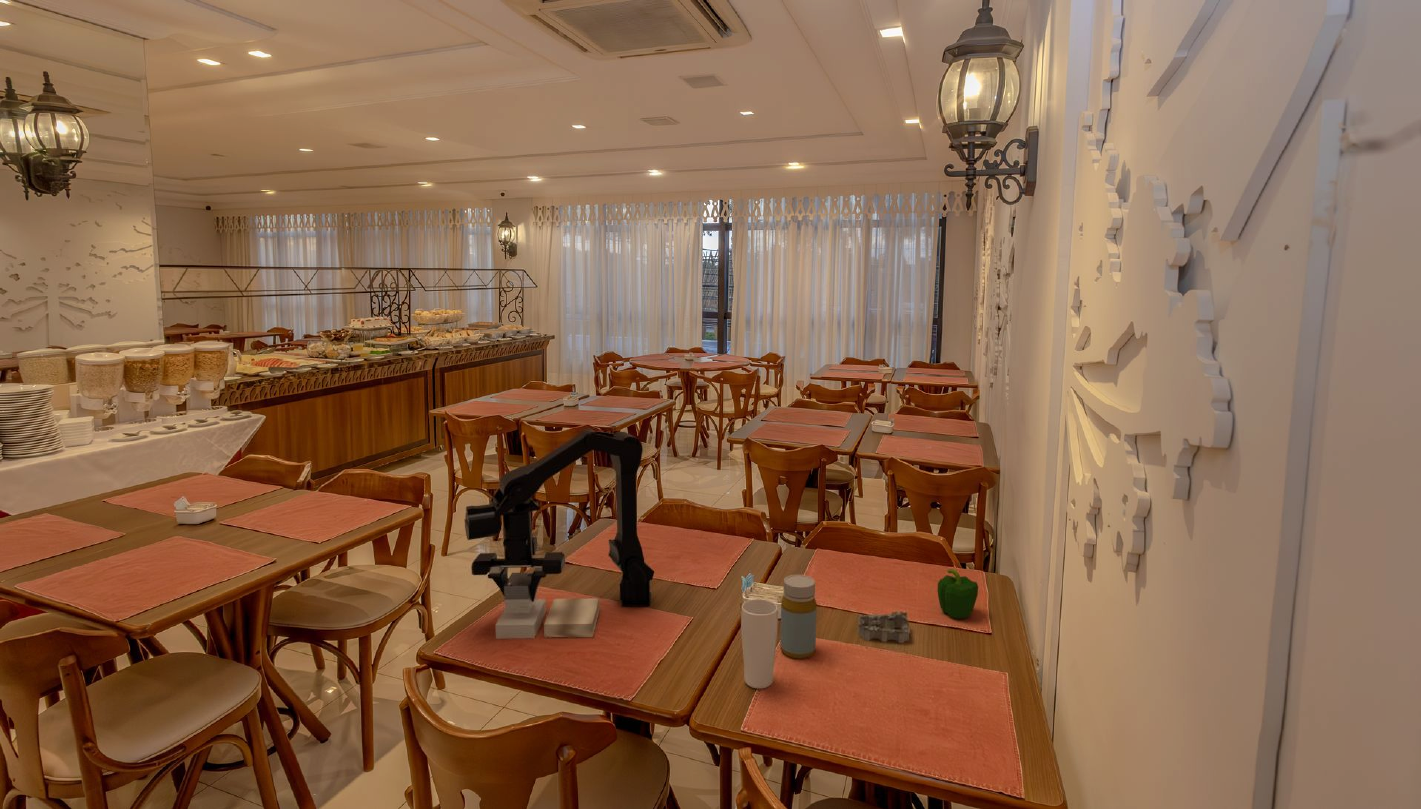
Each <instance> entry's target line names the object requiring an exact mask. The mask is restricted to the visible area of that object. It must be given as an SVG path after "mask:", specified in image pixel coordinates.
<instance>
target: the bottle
mask: <svg viewBox="0 0 1421 809" xmlns="http://www.w3.org/2000/svg"><path fill="white" fill-rule="evenodd" d="M815 593H816V580H815V579H814V578H813V577H810V576H808V575H806V574H805V575H804V574H791V575H787V576H786V577H784V579H783V597H782V599H781V602H780V603H781V604H780V650H781V651H782V652H783V653H784V655H786V656H787V657H789V658H792V659H797V660H798V659H799V660H802V659H808V658H809V657H811V656H813V655H814V653H815V651H816V647H817V646H816V644H817V642H816V641H817V615H818V614H817V612H818V611H817V608H818V606H817V600H816V598H815V595H816V594H815Z"/></svg>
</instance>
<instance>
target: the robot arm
mask: <svg viewBox="0 0 1421 809" xmlns="http://www.w3.org/2000/svg"><path fill="white" fill-rule="evenodd" d="M591 451H596V452H601V453H605V454H608V455H610V456H609V457H610V460H611V462H612V466H613V468H614V472H615V485H616V486H615V488H616V491H615V493H616V494H615V495H616V528H617V529H616V535H615V537H614V539H608V546H609V552H608V557H609V558H610V559H611V561H612V563H613V564H614V565H615V566H616V567H617V568H618V569H619V570H620V572H622V576H621V579H620V581H619V600H620V601H621V606H622V607H650V605H651V601H652V600H651V599H652V592H651V581H653V578H654V576H655V570H654V569H652V568H651V566H649V564H647V563H646V562H645V556H644V552H643V548H642V545H641V541H640V538H639V536H638V518H637V517H638V516H637V511H638V510H637V508H638V507H637V505H638V504H637V473H638V470H639V468H640V465H641V463H642V457H643V451H644V450H643V443H642V442H641V441H640V440H639V439H638V438H637V437H635V436H634V435H632V434H630V433H628V432H626V431H617V432H616V433H612V432H611V433H610V432H607V431H599V430H598V431H597V430H593V429H590V428H585V429H583V430H581V431H580V433H578V434H577V435H575V436H574V437H572V438H571V439H569V440H568V441H567V442H565V443H563V444H562V445H560V446H559V447H557V448H555V449H554V450H552V451H551V452H549V453H547V454H546V455H544V456H543V457H541V458H539V459H538V460H537V461H534V462H532V463H530V464H526V465H523V466H520V467H517V468H514V469H511V470H510V471H507V472H505V474H503V475H502V476H501V477H500V480H499V483H498V489H497V490H496V492H495V493H494V494H493V496H492V497H491V499H490V501H489V502H490V504H489V503H488V504H482V505H467V506H465V518H464V529H465V535H466V539H467V541H472V540H478V539H484V538H490V537H492V538H493V537H496V536H497V535H498V534H500V531H501V530H502V531H503V541H502V546H503V549H504V558H498V556H497V553H496V552H483V553H482V552H481V553H479V554H478V555H477V556H476V557H475V559H474V560H473V561H472V563H471V566H470V567H471V575H473V576H487V579H491V580H492V581H493V582H494V583H495V585H496V586H497V588H499V590H500V591H501V594H502V595H503V597H504V598H505V596H504V585H505V584H506V582H507V580H508V579H509V574H508V572H509V570H508V569H509V568H510V569H511V568H517V569H518V568H520V569H521V568H533V571H532V572H533V574H532V576H531V598H532V602H534V600H535V596H536V597H537V593H538V589H539V586H540V582H541V579H543V578H544V579H545V578H546V577H547V575H559V574H562V573H563V570H564V568H565V566H566V555H565V553H563V551H554V552H551V551H549V552H547V551H546V552H545V555H544V557H534V556H535V555H536V553H537V551H538V537H537V536H533V535H534V534H533V531H532V516H531V515H532V514H531V512H536V511H540V510H541V507H540V506H539V504H538V503H537V502H536V501H534V500H533V499H532V497H533V496H535V494H536V493H537V492H538V491H539V490H540V489H541V488H542V486H543V485H544V484H545V482H547V481H549V479H550V478H552V477H554V476H555V475H557V474H558V473H560V472H561V471H563V470H565V468H567V467H569V466H571V465H572V464H574V463H575V462H576V461H578V460H580V459H581V458H582V457H584V456H585V455H587V454H589V453H590V452H591ZM501 516H502V518H501Z"/></svg>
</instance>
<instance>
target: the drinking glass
mask: <svg viewBox="0 0 1421 809" xmlns="http://www.w3.org/2000/svg"><path fill="white" fill-rule="evenodd" d="M740 610H741V611H740V612H741V613H740V614H741V615H740V629H741V630H740V632H741V642H742V643H741V644H742V657H743V670H744V671H743V672H744V674H743V675H744V682H745V684H746V685H747V686H749V687H750V688H753V689H766V688H768V687H770V686H771V685H772V684H773V682H774V669H775V660H776V658H775V657H776V649H777V640H778V630H779V606H778V605H777V603H776V602H774V601H771V600H769V599H763V598H756V599H755V598H754V599H748V600H746V601H745V602H743V603H742V604H741V609H740Z"/></svg>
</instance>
